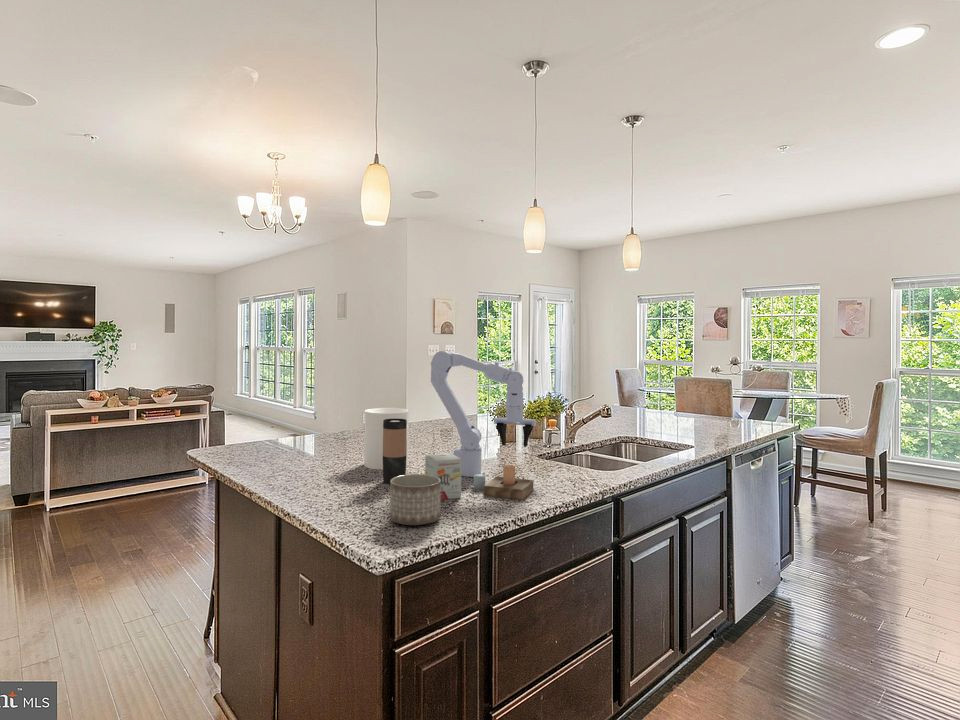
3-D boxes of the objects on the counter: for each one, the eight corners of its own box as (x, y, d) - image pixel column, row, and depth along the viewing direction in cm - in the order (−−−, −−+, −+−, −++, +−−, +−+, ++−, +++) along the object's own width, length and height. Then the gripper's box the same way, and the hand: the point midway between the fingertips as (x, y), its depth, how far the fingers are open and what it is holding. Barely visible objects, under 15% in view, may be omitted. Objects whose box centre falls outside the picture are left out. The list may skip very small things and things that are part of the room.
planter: (388, 514, 141) (388, 475, 141) (436, 511, 144) (436, 473, 144) (391, 530, 129) (392, 487, 128) (443, 527, 132) (444, 485, 131)
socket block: (483, 495, 160) (483, 485, 159) (496, 485, 171) (496, 476, 171) (522, 500, 155) (522, 489, 155) (533, 489, 166) (533, 480, 166)
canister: (414, 461, 204) (414, 408, 203) (398, 471, 188) (399, 414, 188) (375, 458, 207) (375, 407, 207) (356, 467, 192) (356, 412, 191)
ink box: (434, 501, 153) (435, 460, 153) (423, 493, 161) (424, 454, 160) (462, 497, 157) (462, 457, 157) (450, 490, 165) (450, 452, 164)
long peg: (501, 493, 162) (501, 467, 162) (504, 490, 165) (505, 464, 165) (513, 494, 161) (513, 468, 161) (516, 491, 164) (516, 465, 164)
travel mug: (410, 480, 176) (411, 419, 175) (397, 485, 169) (398, 422, 168) (391, 477, 179) (391, 417, 178) (377, 482, 172) (378, 420, 171)
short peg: (471, 489, 167) (472, 476, 166) (476, 486, 170) (476, 473, 170) (482, 490, 165) (482, 477, 165) (486, 487, 169) (487, 474, 168)
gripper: (490, 406, 182) (490, 446, 182) (532, 408, 176) (532, 449, 177) (497, 404, 188) (497, 442, 189) (537, 405, 183) (537, 445, 183)
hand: (514, 445), depth 183 cm, fingers open, 7 cm apart
